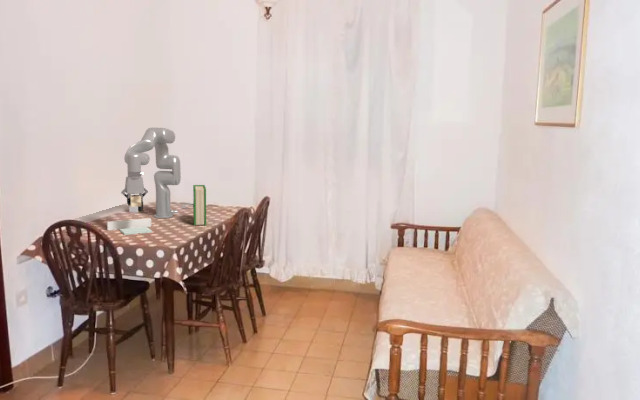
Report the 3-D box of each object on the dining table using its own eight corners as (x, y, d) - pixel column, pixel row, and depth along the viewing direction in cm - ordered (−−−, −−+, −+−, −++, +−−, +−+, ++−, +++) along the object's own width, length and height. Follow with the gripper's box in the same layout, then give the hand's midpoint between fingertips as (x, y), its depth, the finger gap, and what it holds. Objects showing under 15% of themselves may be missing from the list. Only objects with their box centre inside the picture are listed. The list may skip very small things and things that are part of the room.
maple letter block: (138, 204, 326) (138, 194, 325) (141, 206, 321) (141, 196, 320) (128, 205, 323) (128, 195, 322) (131, 206, 318) (130, 196, 317)
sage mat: (146, 228, 334) (146, 226, 334) (152, 232, 324) (152, 230, 324) (119, 230, 325) (119, 229, 325) (124, 234, 315) (124, 233, 315)
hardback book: (206, 225, 347) (205, 188, 343) (194, 225, 345) (194, 188, 341) (204, 220, 364) (204, 185, 360) (193, 220, 362) (193, 185, 358)
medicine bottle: (138, 212, 381) (137, 196, 379) (129, 212, 383) (128, 195, 381) (143, 211, 388) (143, 194, 386) (134, 210, 390) (134, 194, 388)
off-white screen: (150, 225, 341) (150, 218, 340) (151, 226, 339) (151, 218, 339) (107, 229, 327) (107, 221, 326) (108, 230, 325) (107, 222, 325)
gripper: (147, 173, 327) (147, 202, 329) (117, 174, 317) (118, 204, 320) (150, 174, 320) (151, 204, 323) (120, 175, 311) (121, 206, 314)
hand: (134, 204), depth 322 cm, fingers closed on maple letter block, 6 cm apart
